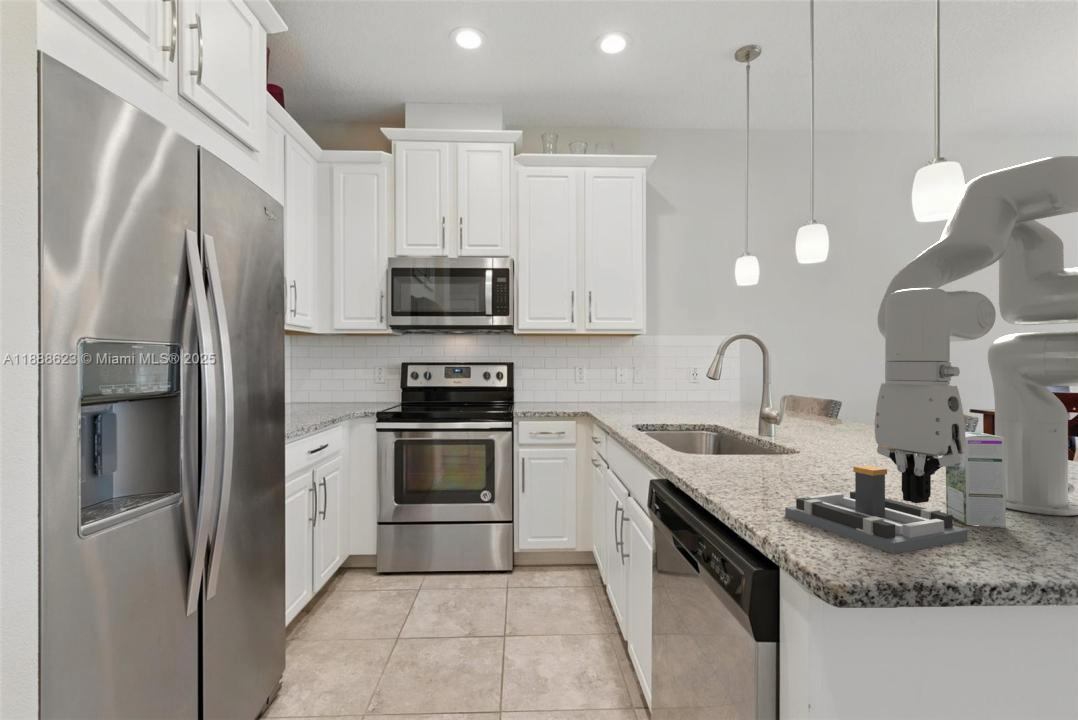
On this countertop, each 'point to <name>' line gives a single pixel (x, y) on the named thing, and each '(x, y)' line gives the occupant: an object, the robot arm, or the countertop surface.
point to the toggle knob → (870, 490)
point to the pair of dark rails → (869, 523)
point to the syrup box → (978, 482)
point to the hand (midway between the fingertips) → (915, 500)
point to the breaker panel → (907, 527)
